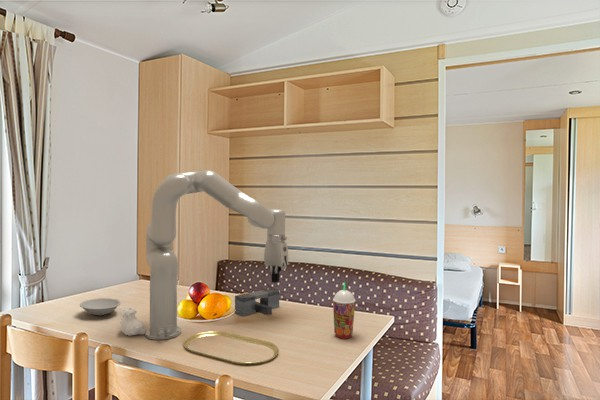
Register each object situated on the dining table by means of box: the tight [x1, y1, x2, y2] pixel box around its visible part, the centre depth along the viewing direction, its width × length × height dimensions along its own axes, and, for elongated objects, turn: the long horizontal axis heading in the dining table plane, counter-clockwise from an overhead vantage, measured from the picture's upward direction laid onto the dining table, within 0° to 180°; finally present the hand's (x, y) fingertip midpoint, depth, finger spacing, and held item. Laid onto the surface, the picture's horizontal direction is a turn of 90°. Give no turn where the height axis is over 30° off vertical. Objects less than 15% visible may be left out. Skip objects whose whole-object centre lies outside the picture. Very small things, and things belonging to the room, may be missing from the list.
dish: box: [79, 297, 122, 316], centre depth 172 cm, size 18×14×5 cm
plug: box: [238, 292, 273, 316], centre depth 183 cm, size 20×4×5 cm, turn 43°
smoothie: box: [332, 282, 356, 340], centre depth 152 cm, size 8×8×20 cm
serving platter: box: [183, 330, 280, 366], centre depth 139 cm, size 19×35×2 cm, turn 62°
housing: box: [234, 288, 280, 317], centre depth 182 cm, size 6×20×8 cm, turn 133°
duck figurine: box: [119, 306, 146, 337], centre depth 151 cm, size 12×8×11 cm
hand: (275, 281), depth 172 cm, fingers closed
